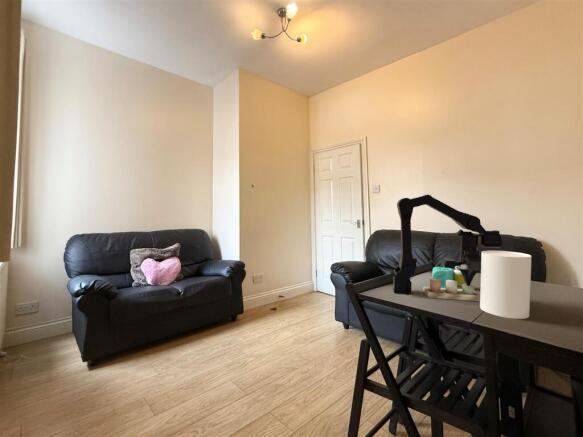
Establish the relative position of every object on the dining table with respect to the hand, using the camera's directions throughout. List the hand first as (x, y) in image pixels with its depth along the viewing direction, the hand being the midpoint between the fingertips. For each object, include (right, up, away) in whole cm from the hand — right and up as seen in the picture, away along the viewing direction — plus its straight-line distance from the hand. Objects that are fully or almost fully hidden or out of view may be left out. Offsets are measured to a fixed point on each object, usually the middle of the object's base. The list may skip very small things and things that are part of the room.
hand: (467, 285), depth 111 cm
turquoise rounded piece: (-2, -4, +15) cm, 16 cm away
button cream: (-6, -3, +2) cm, 6 cm away
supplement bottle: (+4, -4, +13) cm, 14 cm away
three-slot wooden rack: (-6, -4, +2) cm, 7 cm away
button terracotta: (-12, -2, +3) cm, 12 cm away
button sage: (0, -4, 0) cm, 4 cm away
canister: (+3, -5, -15) cm, 16 cm away
